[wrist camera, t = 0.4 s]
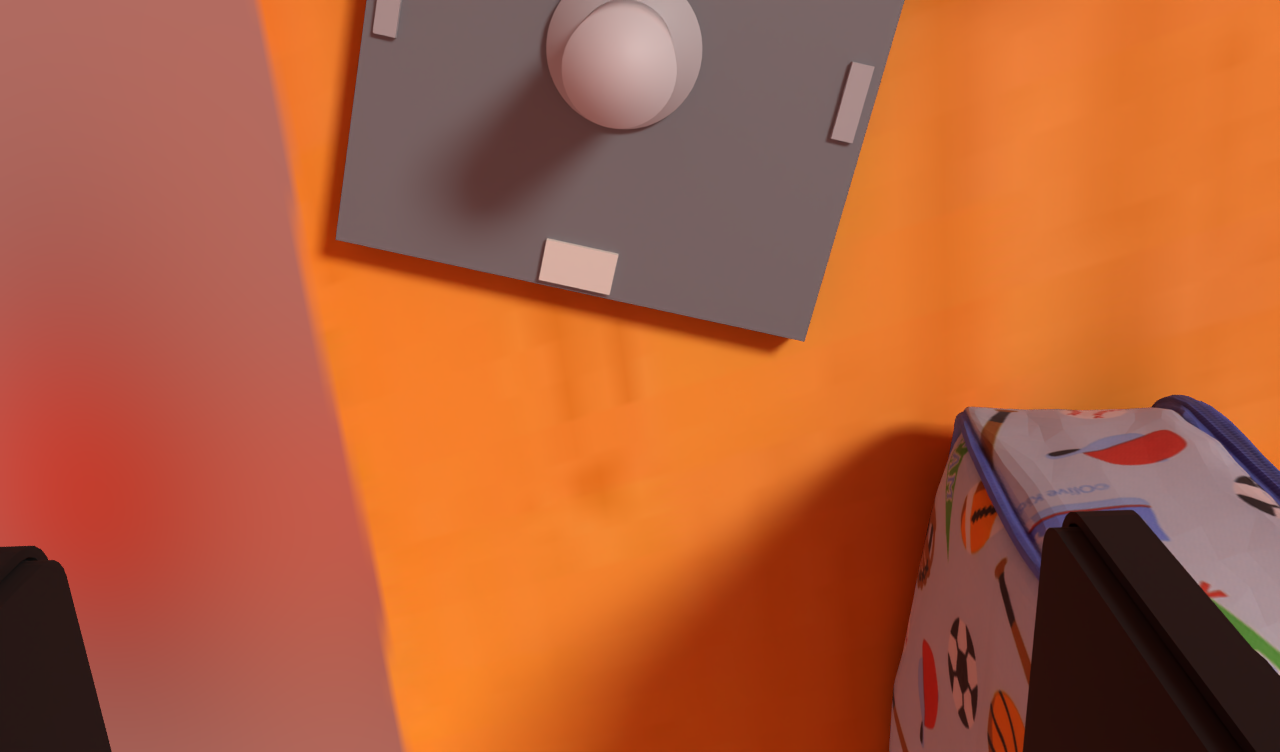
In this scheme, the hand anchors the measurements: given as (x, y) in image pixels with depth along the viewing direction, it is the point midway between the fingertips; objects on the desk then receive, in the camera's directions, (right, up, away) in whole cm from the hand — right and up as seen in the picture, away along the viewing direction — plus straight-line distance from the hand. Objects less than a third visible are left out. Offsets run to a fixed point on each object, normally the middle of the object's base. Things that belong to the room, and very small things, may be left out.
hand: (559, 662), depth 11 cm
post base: (0, +13, +25) cm, 29 cm away
